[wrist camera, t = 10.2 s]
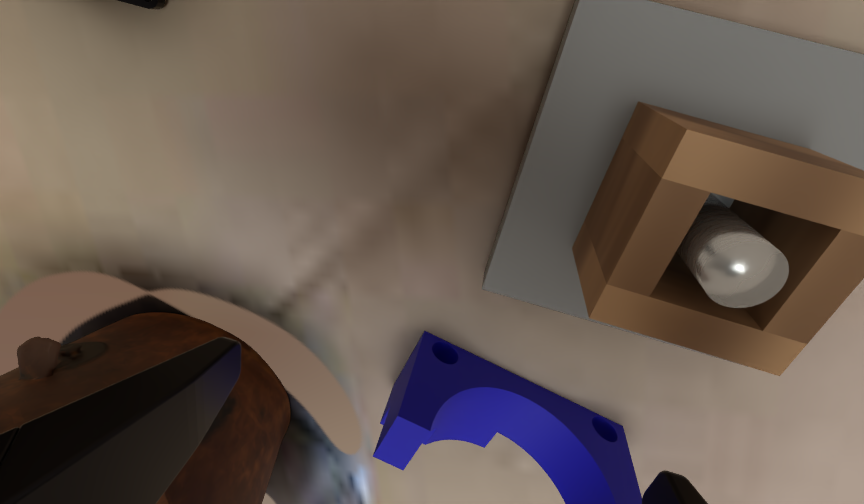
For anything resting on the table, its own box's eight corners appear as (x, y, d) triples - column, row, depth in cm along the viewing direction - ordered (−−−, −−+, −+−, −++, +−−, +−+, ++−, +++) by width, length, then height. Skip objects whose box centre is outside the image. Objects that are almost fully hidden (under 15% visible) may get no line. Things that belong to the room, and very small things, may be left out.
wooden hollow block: (571, 248, 18) (588, 318, 14) (638, 101, 15) (686, 129, 11) (715, 290, 18) (779, 376, 13) (810, 149, 15) (932, 198, 10)
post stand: (484, 273, 21) (470, 373, 15) (578, -12, 15) (619, -41, 9) (732, 345, 20) (825, 480, 14) (928, 76, 15) (1224, 108, 8)
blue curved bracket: (394, 382, 25) (361, 474, 20) (425, 329, 23) (397, 415, 18) (575, 469, 26) (590, 580, 21) (622, 424, 24) (651, 535, 19)
